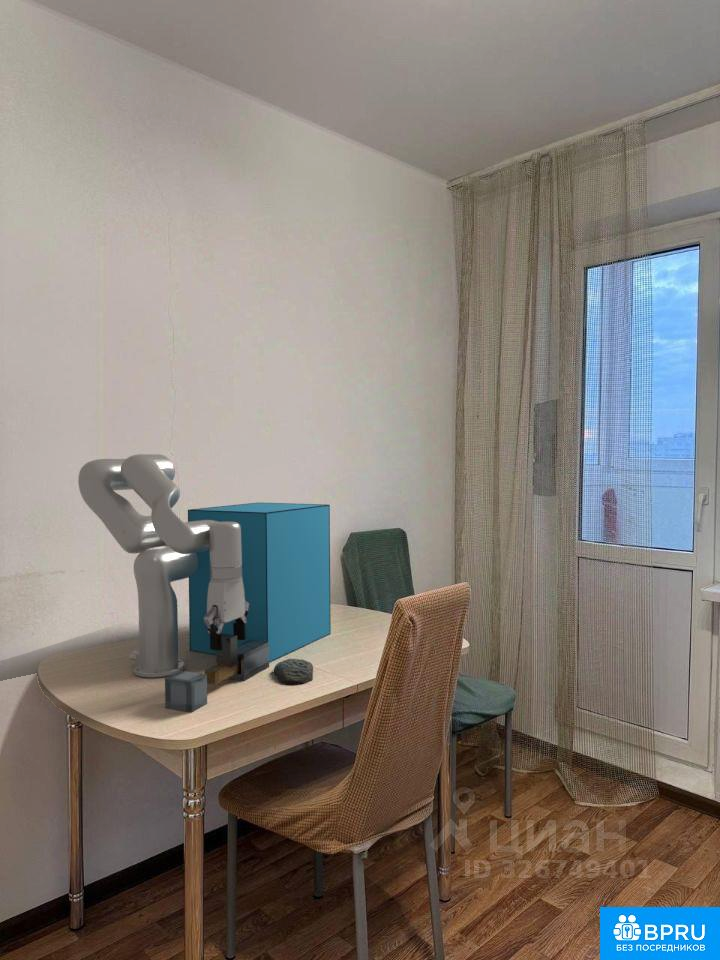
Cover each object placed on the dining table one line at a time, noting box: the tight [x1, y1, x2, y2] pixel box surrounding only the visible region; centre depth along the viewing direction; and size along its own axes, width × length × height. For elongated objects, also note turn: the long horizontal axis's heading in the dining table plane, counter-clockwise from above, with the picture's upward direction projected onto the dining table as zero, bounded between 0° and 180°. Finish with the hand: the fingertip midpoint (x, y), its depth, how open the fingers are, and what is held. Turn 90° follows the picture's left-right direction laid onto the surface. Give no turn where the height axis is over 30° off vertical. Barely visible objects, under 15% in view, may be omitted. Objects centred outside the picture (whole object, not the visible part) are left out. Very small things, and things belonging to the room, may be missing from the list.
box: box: [187, 502, 332, 664], centre depth 197 cm, size 27×33×40 cm
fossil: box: [273, 658, 314, 686], centre depth 166 cm, size 10×13×4 cm
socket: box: [164, 670, 208, 713], centre depth 147 cm, size 7×6×6 cm
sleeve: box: [226, 640, 270, 682], centre depth 170 cm, size 6×12×6 cm, turn 157°
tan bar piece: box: [204, 634, 241, 685], centre depth 165 cm, size 4×22×9 cm, turn 157°
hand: (228, 644), depth 161 cm, fingers open, 9 cm apart
